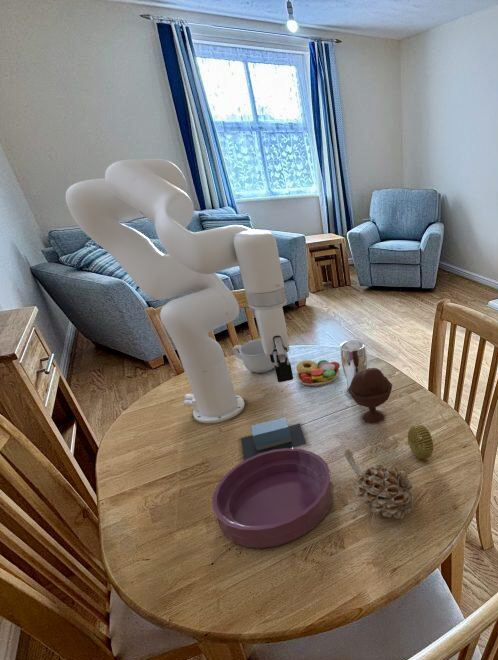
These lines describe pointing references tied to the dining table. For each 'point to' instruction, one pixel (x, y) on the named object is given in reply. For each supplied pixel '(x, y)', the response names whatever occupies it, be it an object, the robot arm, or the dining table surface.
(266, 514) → the serving bowl
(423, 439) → the sculpture
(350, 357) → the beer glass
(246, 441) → the rubber mat
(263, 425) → the block
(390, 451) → the dining table surface
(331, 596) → the dining table surface
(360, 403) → the ice cream bowl
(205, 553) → the dining table surface
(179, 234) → the robot arm
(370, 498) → the pine cone
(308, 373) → the toy food set
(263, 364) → the teacup
